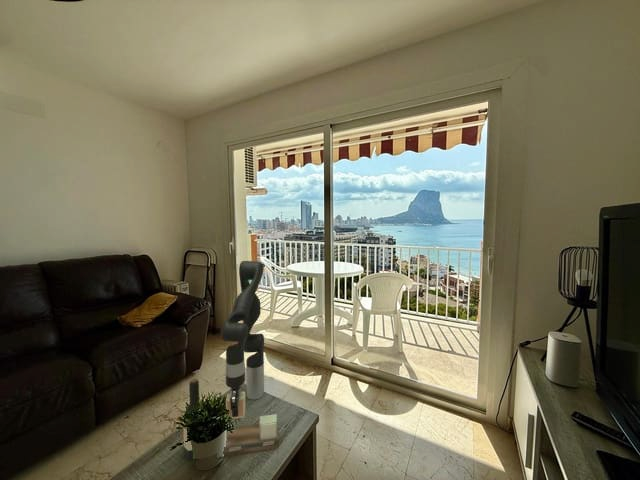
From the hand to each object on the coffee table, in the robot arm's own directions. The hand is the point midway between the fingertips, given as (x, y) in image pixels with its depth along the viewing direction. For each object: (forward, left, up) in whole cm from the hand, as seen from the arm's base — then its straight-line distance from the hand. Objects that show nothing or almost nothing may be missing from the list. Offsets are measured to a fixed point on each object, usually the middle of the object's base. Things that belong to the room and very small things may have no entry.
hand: (236, 411), depth 103 cm
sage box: (0, +13, -13) cm, 19 cm away
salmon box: (0, 0, -2) cm, 2 cm away
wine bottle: (-1, -16, -16) cm, 22 cm away
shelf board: (-2, +5, -15) cm, 16 cm away
